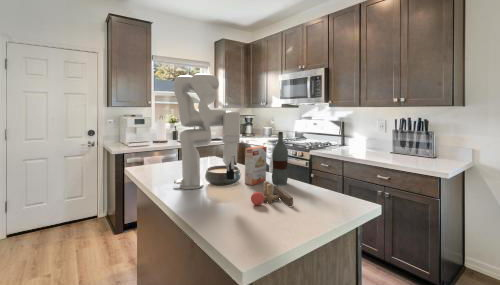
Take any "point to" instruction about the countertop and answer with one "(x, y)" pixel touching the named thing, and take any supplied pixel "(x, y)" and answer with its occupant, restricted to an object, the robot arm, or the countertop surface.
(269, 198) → the pin
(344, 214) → the countertop surface
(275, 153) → the bottle
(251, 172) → the cracker box
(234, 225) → the countertop surface
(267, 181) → the pin
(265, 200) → the front pin
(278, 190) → the dark wooden bar
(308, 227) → the countertop surface
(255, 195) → the ball
